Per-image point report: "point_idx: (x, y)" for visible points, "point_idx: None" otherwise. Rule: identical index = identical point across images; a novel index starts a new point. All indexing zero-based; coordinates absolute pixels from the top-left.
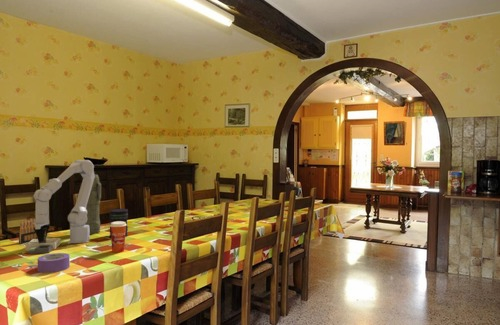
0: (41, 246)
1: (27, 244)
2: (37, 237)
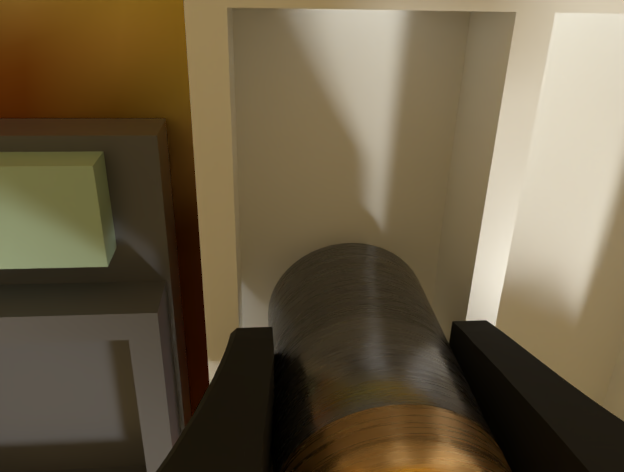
0: (138, 351)
1: (187, 18)
2: (202, 401)
